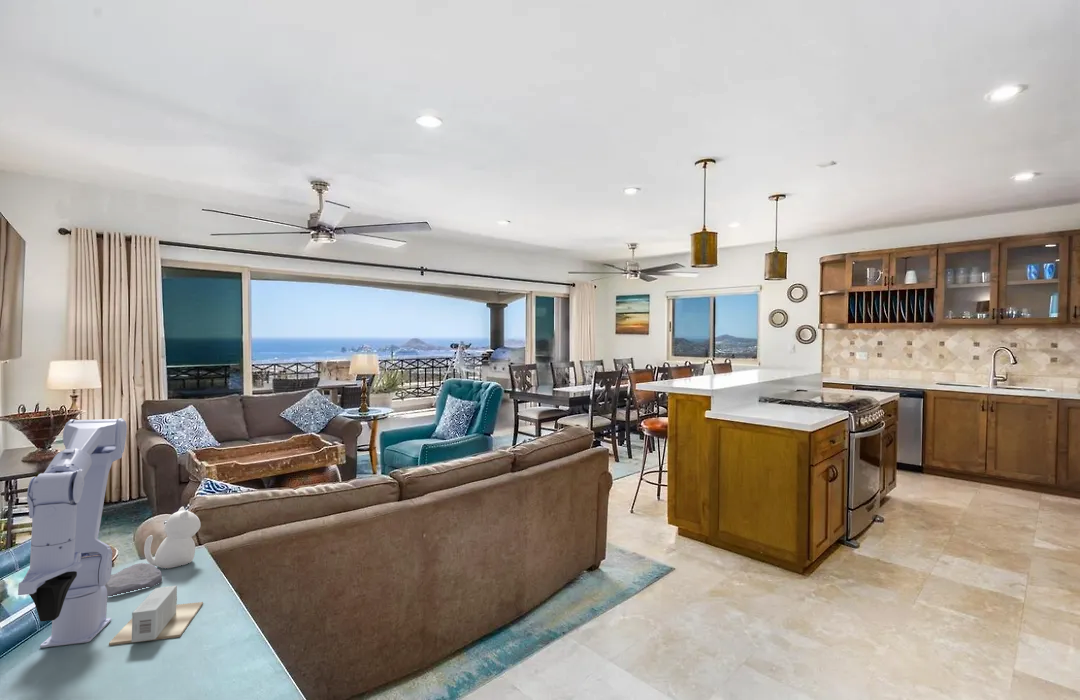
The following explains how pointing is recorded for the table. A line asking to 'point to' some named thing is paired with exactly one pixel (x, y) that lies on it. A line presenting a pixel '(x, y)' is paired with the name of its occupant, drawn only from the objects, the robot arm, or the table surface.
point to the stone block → (133, 579)
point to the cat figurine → (175, 541)
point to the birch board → (171, 629)
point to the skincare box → (154, 614)
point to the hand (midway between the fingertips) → (49, 619)
